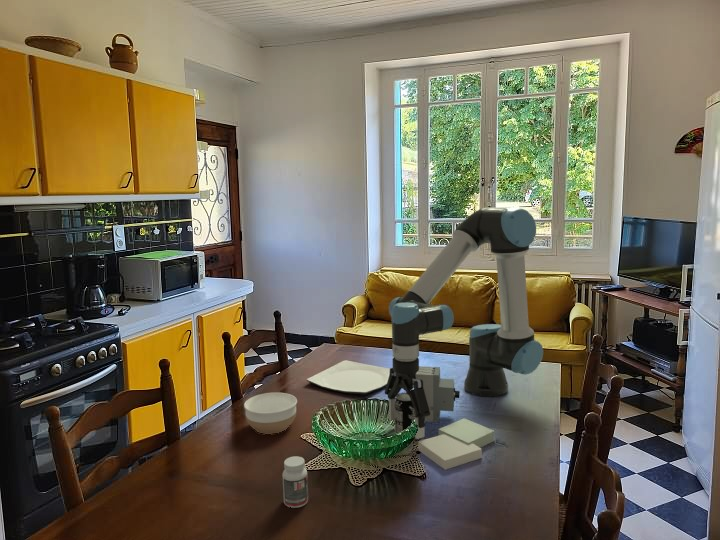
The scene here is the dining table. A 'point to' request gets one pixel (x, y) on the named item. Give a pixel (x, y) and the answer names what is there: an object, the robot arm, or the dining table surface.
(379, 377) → the plate
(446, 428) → the stand
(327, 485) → the dining table surface
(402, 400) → the beverage can
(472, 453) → the stand
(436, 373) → the circuit breaker
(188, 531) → the dining table surface
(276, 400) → the bowl
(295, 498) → the pill bottle
